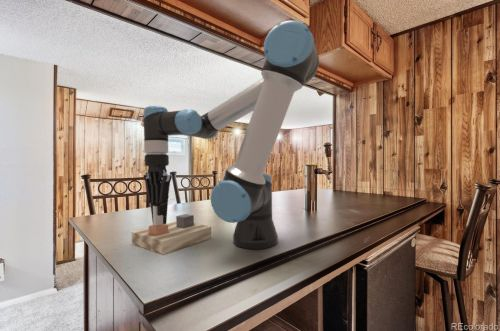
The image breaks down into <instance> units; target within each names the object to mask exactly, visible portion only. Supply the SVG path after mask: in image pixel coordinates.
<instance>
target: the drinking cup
mask: <svg viewBox="0 0 500 331" xmlns="http://www.w3.org/2000/svg"><path fill="white" fill-rule="evenodd" d="M169 198H170V197H169V195H168V199H169ZM149 204H150V211H151V221H152V223H153V205H151V203H149ZM168 205H169V201H168V202H167V204H164V205H163V224H167V218H168V207H169V206H168Z"/></svg>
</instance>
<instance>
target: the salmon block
mask: <svg viewBox="0 0 500 331" xmlns="http://www.w3.org/2000/svg"><path fill="white" fill-rule="evenodd" d="M166 224H167V223H166ZM166 224H162V225H158V226H154V225H153V224H151V225H148V228H149V234H150V235H153V236H159V235H162V234H166V233H168V225H166Z"/></svg>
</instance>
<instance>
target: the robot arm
mask: <svg viewBox="0 0 500 331" xmlns="http://www.w3.org/2000/svg"><path fill="white" fill-rule="evenodd" d="M263 52H264V56H265V61H264V63H263V67H262V68H261V72H260V74H261V76H262V78H261V79H259V80H257V81H256V82H254V83H252V84H251V85H249V86H247V87H246V88H244V89H243V90H241V91H239V92H238V93H236V94H235V95H233V96H231V97H230V98H228V99H226V100H225V101H223V102H222V103H220V104H219V105H217V106H215V107H214V108H212V109H210V110H209V111H207V112H206V113H204V114H202V115H200V114H199V112H198V111H197V110H195V109H180V110H173V111H168V109H167V108H166V107H164V106H160V105H149V106H146V107H145V108H144V109H143V118H142V120H143V135H144V136H143V137H144V138H143V141H144V142H143V148H144V149H143V151H144V153H145V155H144V166H145V167H148V168H147V174H143V180H144V183H145V189H146V195H147V201H148V204H150V203H151V204H150V206H151V205H153V222H152V225H154V226H158V225H162V224H163V205H164V204H167V202H168V203H169V198H168V196H169V193H170V186H171V182H172V179H173V176H172V174H168V173H167V172H168V171H167V166H169V165H170V164H169V163H170V160H169V159H170V158H169V154H168V153H169V136H187V137H194V138H200V139H203V140H204V139H205V140H207V139H213V138H215V137H216V136H217V134H218V133H219V131H220V130H222V129H224V128H226V127H227V126H229V125H231V124H234V122H237V121H238V120H240V119H242V118H243V117H245V116H247V115H248V114H250V113H251V117H250V120H249V122H248V125H247V128H246V131H245V134H244V137H243V138H242V142H241V144H240V147H239V150H238V153H237V155H236V159H235V160H234V161H235V162H234V164H232V165H230V166H227V168H226V170H225V173H224V176H223V178H222V180H221V181H220V182H218V183H217V184H216V185H214V187H213V189H212V191H211V193H210V204H211V207H212V209H213V212H214V213H215V215H216V216H217V217H218V218H219V219H221V220H222V221H224V222H226V223H229V224H230V223H233V224H235V223H236V225H235V228H234V233H233V235H232V243H233V245H234V246H236V247H238V248H241V249H247V250H248V249H249V250H261V249H267V248H272V247H274V246H277V244H278V243H279V237H278V236H279V235H278V233H277V230H276V226H275V224H274V220H273V188H272V187H273V183H272V176H270V175H269V174H267V173H265V170H266V168H267V164H268V163H269V159H270V157H271V155H272V152H273V149H274V146H275V144H276V142H277V141H276V140H277V139H278V137H279V133H280V130H281V128H282V125H283V123H284V120H285V118H286V116H287V112H288V110H289V107H290V105H291V102H292V99H293V97H294V93H296V92H298V91H300V90H301V89H303V87H304V86H305V85H307V84H308V83H309V82H310V81H312V79H314V77H315V75H316V74H317V72H318V70H319V65H320V59H319V58H320V57H319V53H318V50H317V47H316V43H315V38H314V35H313V34H312V32H311V30H310V29H309V27H308V26H307V25H306V24H305V23H303V22H302V21H298V20H291V19H290V20H285V21H282V22H280V23H278V24H276V25H275V26H273V28H271V29H270V31H268V33H267V35H266V36H265V39H264V42H263Z"/></svg>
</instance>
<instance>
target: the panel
mask: <svg viewBox="0 0 500 331" xmlns="http://www.w3.org/2000/svg"><path fill="white" fill-rule="evenodd" d="M166 225H168V233H166V234H162V235H159V236H153V235H150V234H149V227H147V228H144V229H139V230H135V231H131V244H132V245H134V246H137V247H140V248H142V249H146V250H148V251H150V252H151V251H152V252H154V253H158V254H160V255H163V256H164V255H165V254H169V253H172V252H174V251H177V250H180V249H183V248H186V247H189V246H191V245H195V244H197V243H201V242H203V241H206V240H209V239H212V237H213V236H212V226H209V225H204V224H200V223H195V222H194V226H192V227H188V228H179V227H177V225H176V221H173V222H168V223H166Z"/></svg>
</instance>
